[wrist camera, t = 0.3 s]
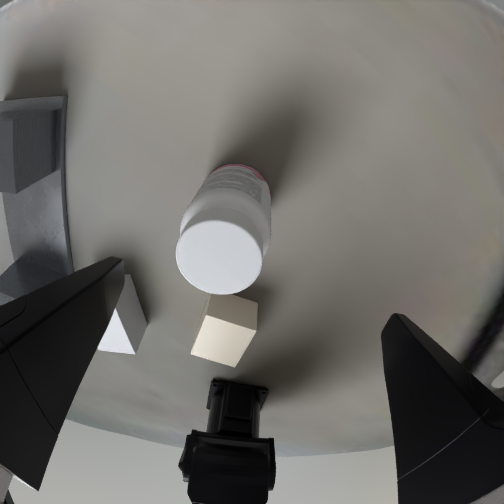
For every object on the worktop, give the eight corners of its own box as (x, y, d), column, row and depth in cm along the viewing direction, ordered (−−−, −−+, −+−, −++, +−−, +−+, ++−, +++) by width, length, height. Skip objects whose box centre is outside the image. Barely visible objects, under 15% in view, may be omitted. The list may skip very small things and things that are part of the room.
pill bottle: (189, 182, 20) (146, 238, 13) (250, 150, 19) (239, 190, 12) (223, 237, 22) (202, 313, 15) (282, 210, 21) (289, 280, 14)
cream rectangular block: (238, 338, 28) (234, 367, 25) (197, 326, 27) (190, 353, 24) (258, 301, 25) (256, 330, 22) (213, 286, 25) (206, 314, 22)
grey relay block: (148, 324, 28) (135, 354, 24) (113, 321, 28) (98, 349, 24) (130, 273, 25) (112, 302, 21) (94, 273, 25) (74, 299, 21)
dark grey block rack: (82, 317, 28) (59, 355, 23) (28, 299, 27) (4, 330, 23) (67, 95, 17) (18, 104, 12) (3, 100, 16) (-42, 112, 12)
